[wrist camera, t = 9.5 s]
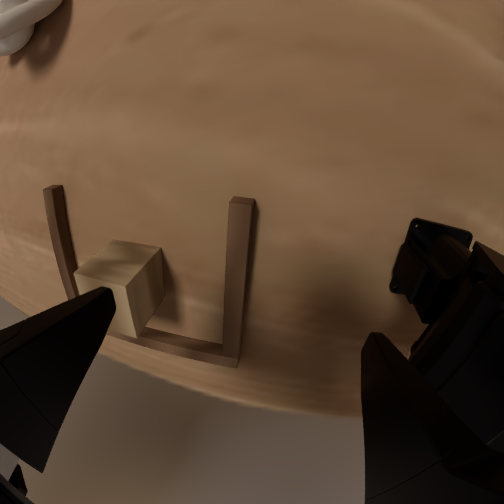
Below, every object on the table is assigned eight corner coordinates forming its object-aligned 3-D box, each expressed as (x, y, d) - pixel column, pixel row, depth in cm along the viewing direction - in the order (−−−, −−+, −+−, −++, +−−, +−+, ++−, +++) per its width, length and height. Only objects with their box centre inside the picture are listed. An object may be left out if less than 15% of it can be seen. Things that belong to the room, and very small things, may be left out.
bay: (254, 199, 19) (251, 205, 18) (239, 357, 27) (237, 368, 25) (53, 184, 21) (42, 189, 19) (83, 316, 28) (76, 323, 27)
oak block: (161, 247, 22) (125, 286, 17) (165, 295, 24) (137, 338, 19) (113, 239, 22) (73, 272, 17) (121, 284, 25) (88, 322, 19)
